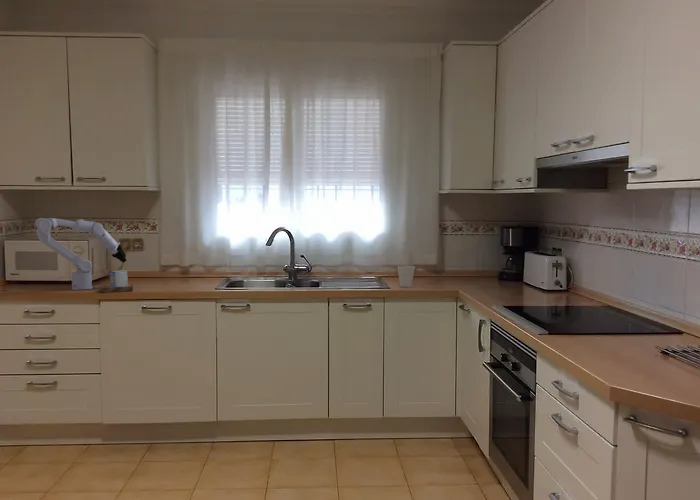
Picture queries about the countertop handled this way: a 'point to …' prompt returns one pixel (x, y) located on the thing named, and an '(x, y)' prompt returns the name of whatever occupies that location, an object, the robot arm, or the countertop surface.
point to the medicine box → (118, 278)
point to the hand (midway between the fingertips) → (124, 259)
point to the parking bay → (117, 289)
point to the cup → (406, 275)
